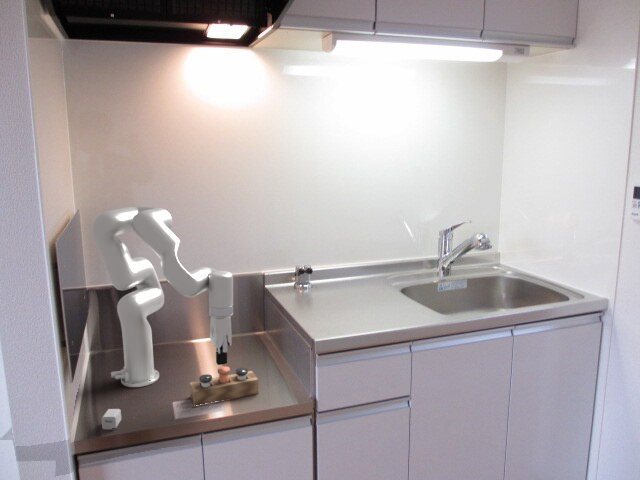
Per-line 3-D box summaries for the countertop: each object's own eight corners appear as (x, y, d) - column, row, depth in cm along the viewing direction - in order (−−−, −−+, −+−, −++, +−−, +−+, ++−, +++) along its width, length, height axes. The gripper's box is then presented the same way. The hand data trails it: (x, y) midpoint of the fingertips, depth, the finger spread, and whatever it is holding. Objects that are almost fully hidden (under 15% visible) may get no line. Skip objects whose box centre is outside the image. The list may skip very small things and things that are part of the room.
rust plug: (219, 392, 165) (219, 372, 164) (216, 386, 169) (216, 367, 168) (232, 389, 167) (231, 370, 166) (228, 384, 171) (228, 365, 169)
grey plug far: (238, 393, 168) (237, 374, 167) (234, 387, 172) (234, 368, 170) (249, 390, 170) (249, 371, 168) (246, 385, 173) (245, 366, 172)
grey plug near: (201, 400, 163) (200, 381, 162) (198, 395, 167) (198, 375, 165) (214, 398, 165) (213, 378, 164) (211, 392, 168) (210, 373, 167)
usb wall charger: (102, 429, 148) (101, 416, 148) (111, 416, 155) (110, 404, 154) (116, 429, 149) (115, 416, 148) (124, 416, 155) (123, 404, 155)
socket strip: (194, 406, 161) (194, 392, 160) (190, 396, 167) (189, 382, 166) (258, 393, 170) (258, 379, 169) (252, 384, 176) (251, 370, 175)
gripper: (204, 303, 168) (204, 355, 172) (215, 319, 154) (215, 375, 158) (226, 301, 171) (226, 352, 175) (239, 316, 158) (239, 371, 161)
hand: (221, 363), depth 166 cm, fingers closed
